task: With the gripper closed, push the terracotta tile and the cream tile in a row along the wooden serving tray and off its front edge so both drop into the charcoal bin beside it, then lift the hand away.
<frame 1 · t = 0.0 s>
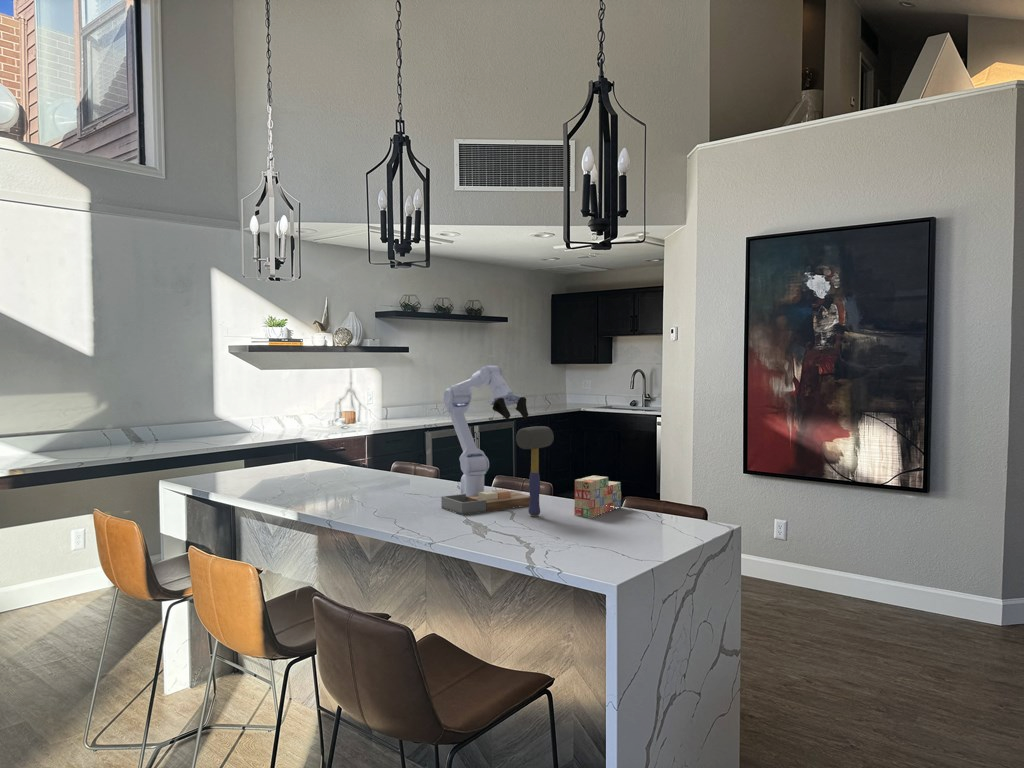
hand: (517, 417, 245), 32 cm above the countertop, tool tilted 50°, fingers open, 7 cm apart
stack of blocks: (598, 512, 244), on the countertop
rubber mallet: (534, 516, 236), on the countertop
wooden serving tray: (499, 505, 254), on the countertop
tile front: (488, 498, 251), point 3 cm above the countertop, touching wooden serving tray
tile back: (501, 496, 255), point 3 cm above the countertop, touching wooden serving tray
bin: (463, 509, 246), on the countertop
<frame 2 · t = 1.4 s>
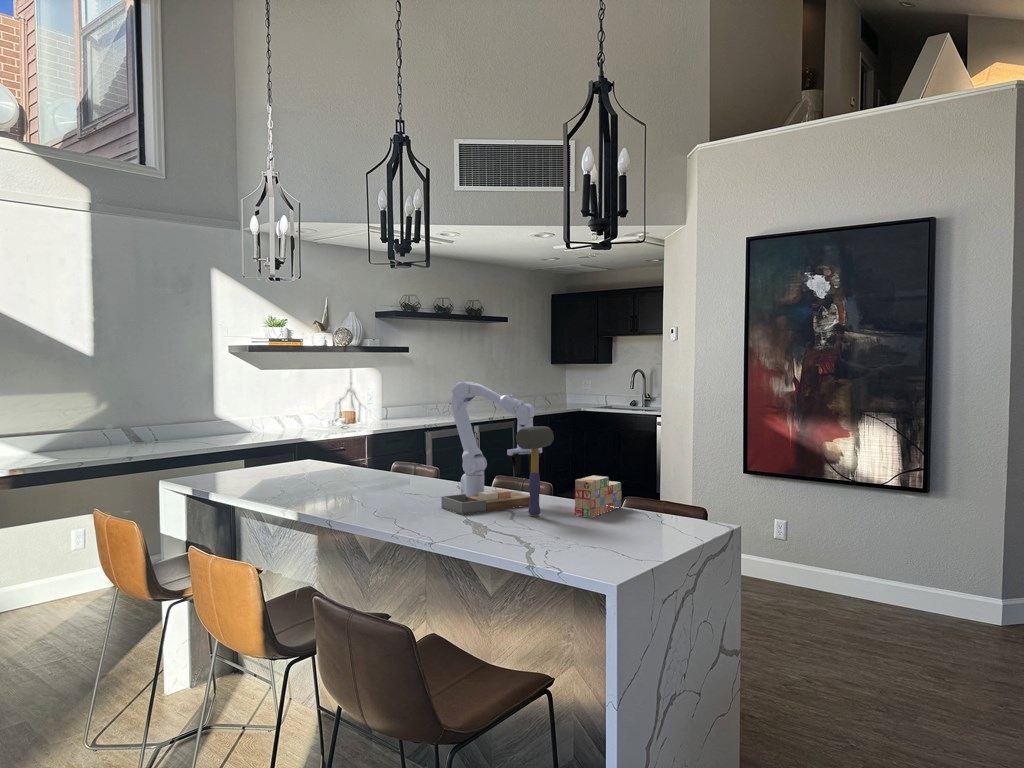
hand: (524, 473, 260), 10 cm above the countertop, tool pointing down, fingers open, 6 cm apart
nothing on the countertop moved.
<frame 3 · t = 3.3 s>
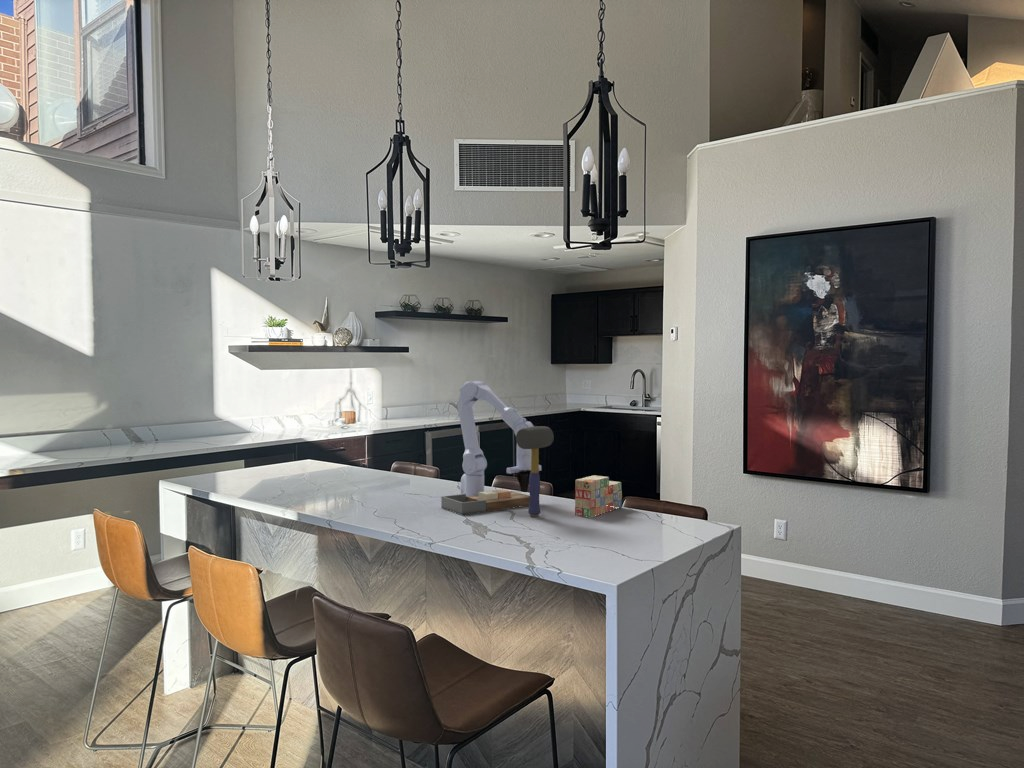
hand: (524, 491, 260), 4 cm above the countertop, tool pointing down, fingers closed
nothing on the countertop moved.
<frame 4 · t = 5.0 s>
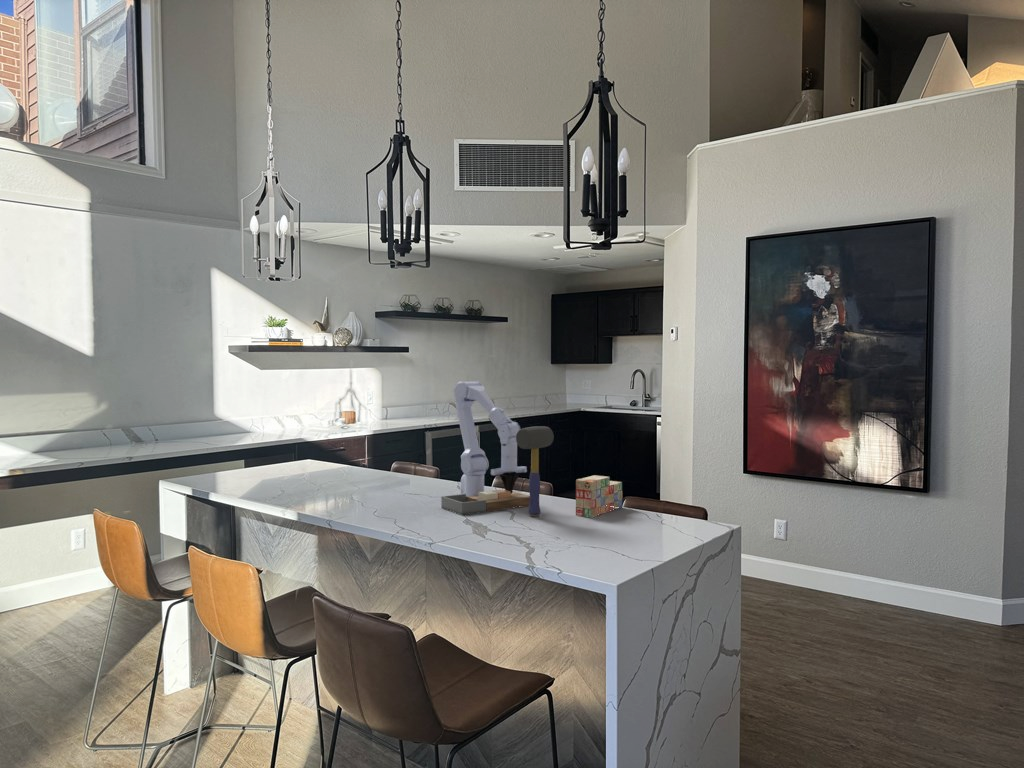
hand: (508, 493, 257), 4 cm above the countertop, tool pointing down, fingers closed
tile back: (500, 496, 255), point 3 cm above the countertop, touching gripper, wooden serving tray
everything else where it was.
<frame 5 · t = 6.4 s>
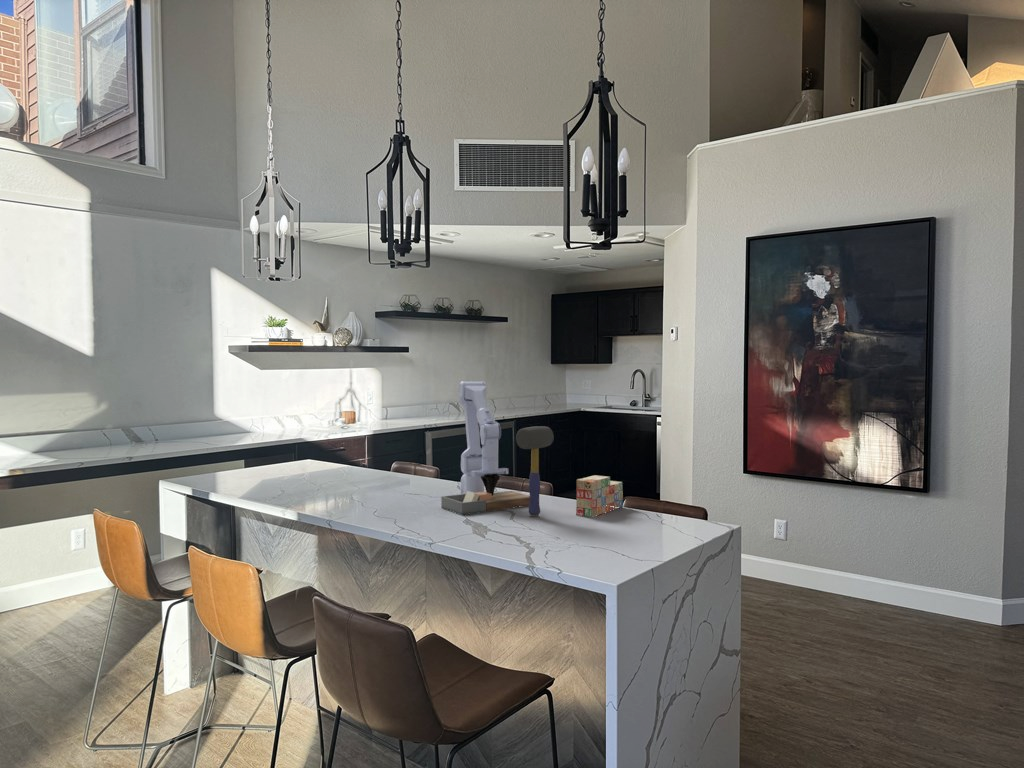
hand: (489, 495, 252), 4 cm above the countertop, tool pointing down, fingers closed
tile front: (472, 500, 248), point 3 cm above the countertop, tilted 64°, touching bin
tile back: (481, 498, 250), point 3 cm above the countertop, touching gripper, wooden serving tray
everything else where it was.
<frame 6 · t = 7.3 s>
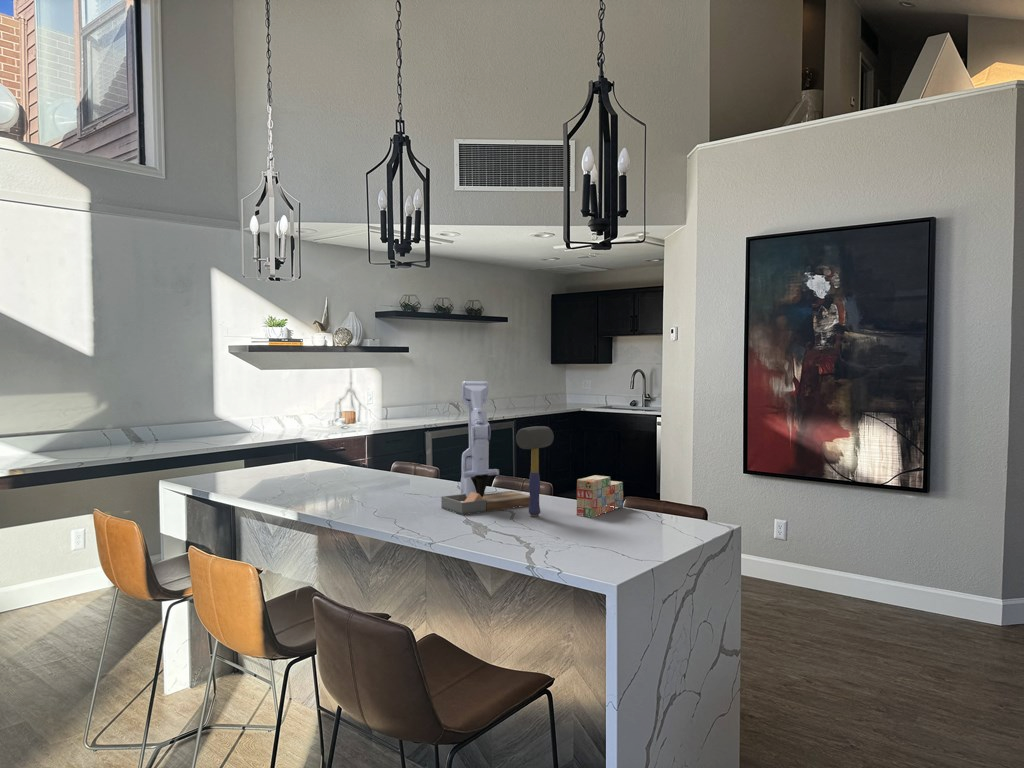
hand: (480, 496, 249), 4 cm above the countertop, tool pointing down, fingers closed
tile front: (459, 503, 245), point 2 cm above the countertop, tilted 180°, touching bin
tile back: (474, 502, 248), point 2 cm above the countertop, tilted 44°, touching bin, gripper
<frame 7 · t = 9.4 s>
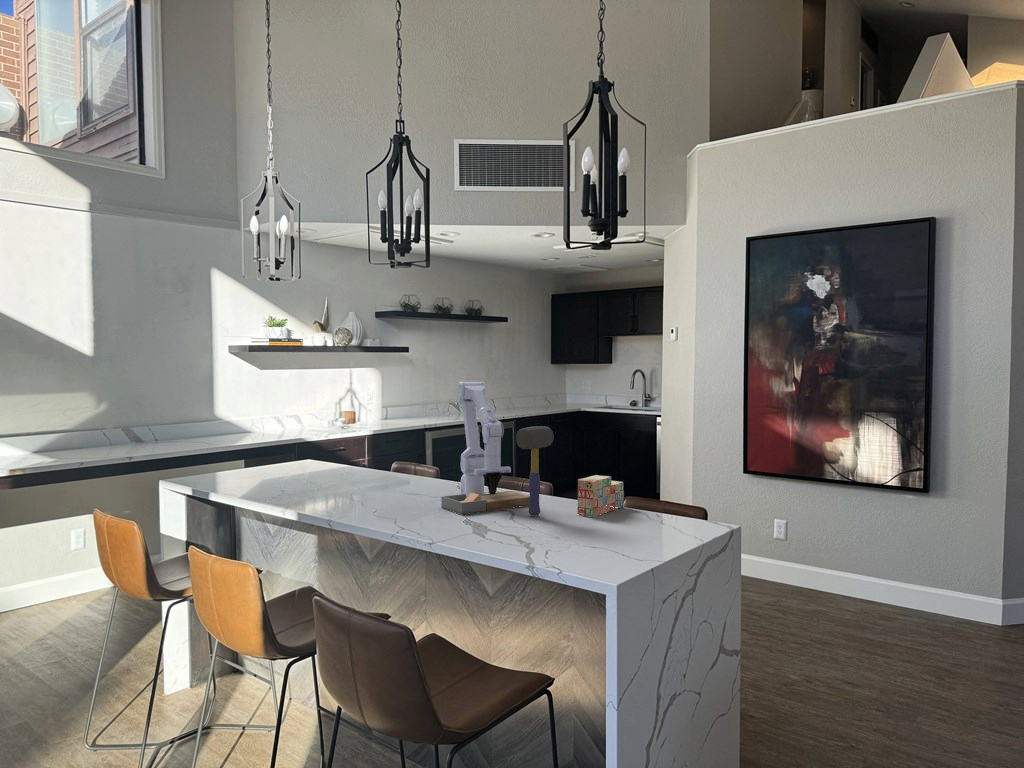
hand: (492, 493, 253), 4 cm above the countertop, tool pointing down, fingers closed
tile back: (473, 502, 248), point 2 cm above the countertop, tilted 39°, touching bin, wooden serving tray
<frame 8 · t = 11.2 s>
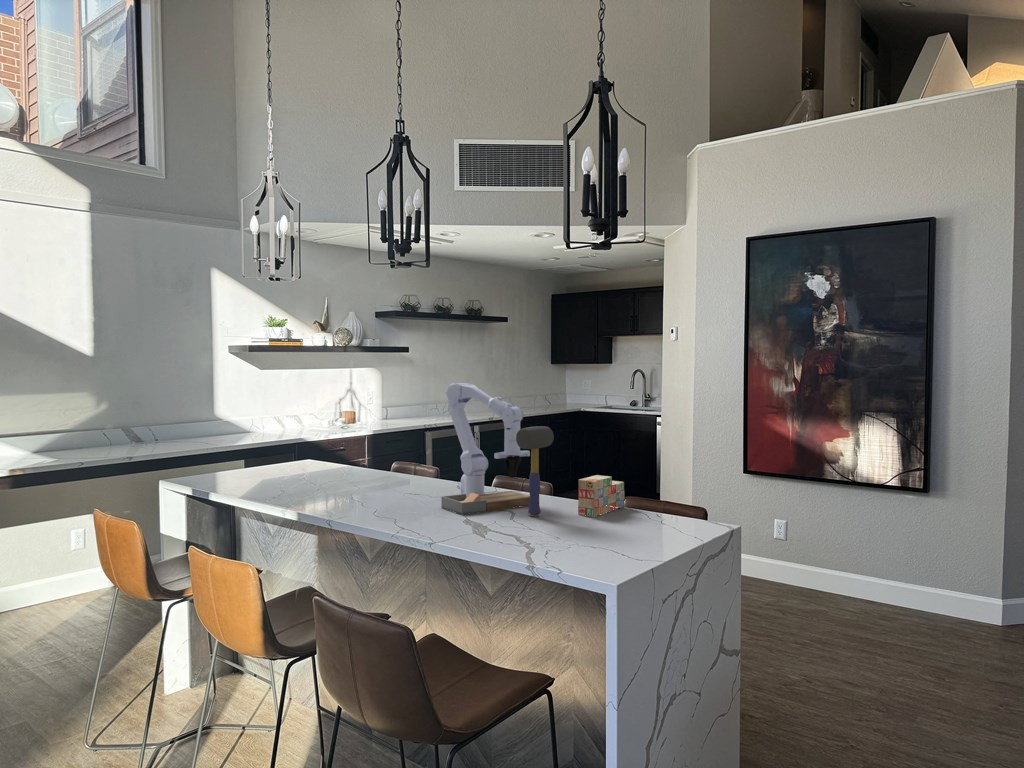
hand: (512, 477, 258), 9 cm above the countertop, tool pointing down, fingers closed
at the end: tile front inside the target area on the bin (1.4 cm from its centre), point 2.5 cm above the bin's base; tile back inside the target area on the bin (4.3 cm from its centre), point 2.1 cm above the bin's base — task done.
